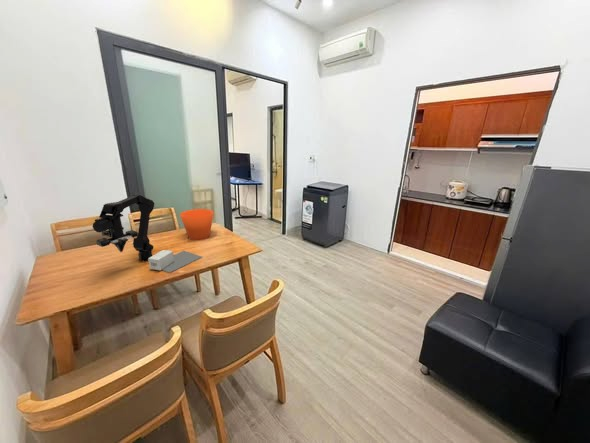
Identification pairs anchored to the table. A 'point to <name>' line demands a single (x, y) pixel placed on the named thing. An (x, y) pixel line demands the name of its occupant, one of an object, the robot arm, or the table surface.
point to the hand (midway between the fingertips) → (121, 251)
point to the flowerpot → (197, 223)
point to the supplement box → (161, 260)
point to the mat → (181, 261)
